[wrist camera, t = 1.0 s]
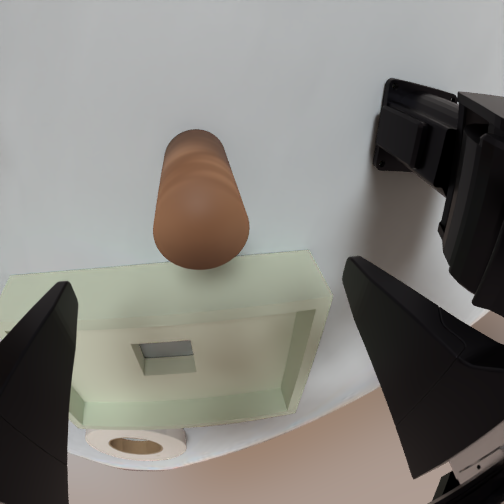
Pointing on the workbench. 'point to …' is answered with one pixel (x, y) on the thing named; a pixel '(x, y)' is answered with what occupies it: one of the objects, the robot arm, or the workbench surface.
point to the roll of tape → (138, 443)
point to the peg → (198, 204)
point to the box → (187, 328)
